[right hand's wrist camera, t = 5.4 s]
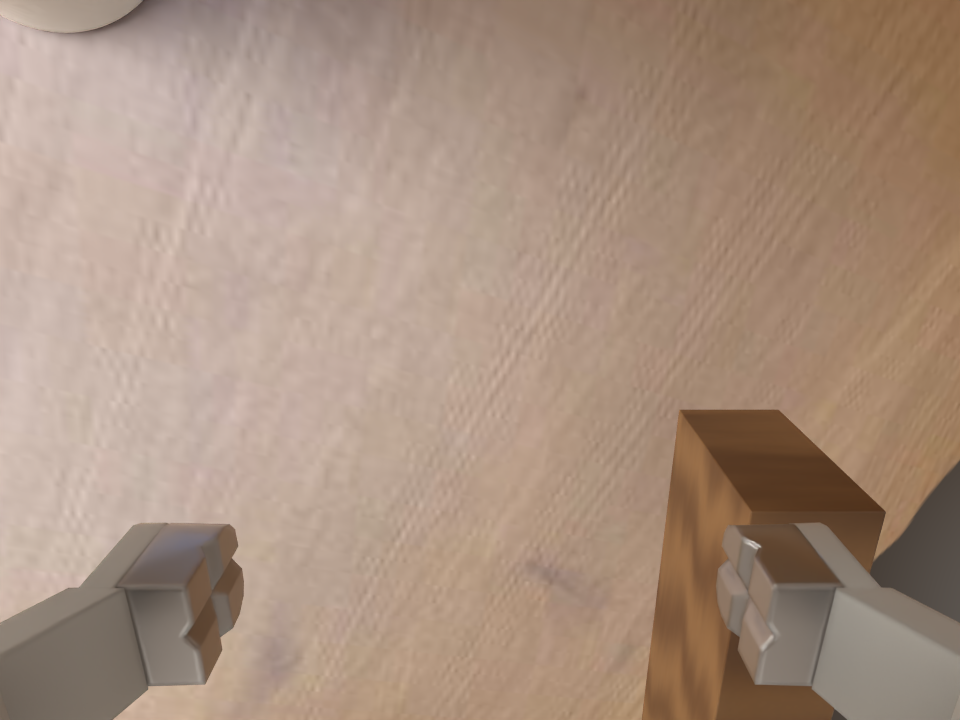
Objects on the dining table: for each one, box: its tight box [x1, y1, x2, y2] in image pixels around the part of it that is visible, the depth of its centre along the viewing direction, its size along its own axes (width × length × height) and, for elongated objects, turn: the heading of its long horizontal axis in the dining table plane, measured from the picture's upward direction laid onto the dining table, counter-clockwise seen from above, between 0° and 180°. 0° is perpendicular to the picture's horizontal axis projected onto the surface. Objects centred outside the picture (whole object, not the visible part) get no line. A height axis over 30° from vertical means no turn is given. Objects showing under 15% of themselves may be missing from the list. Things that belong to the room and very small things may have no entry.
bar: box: [642, 410, 886, 720], centre depth 33 cm, size 23×5×9 cm, turn 0°
